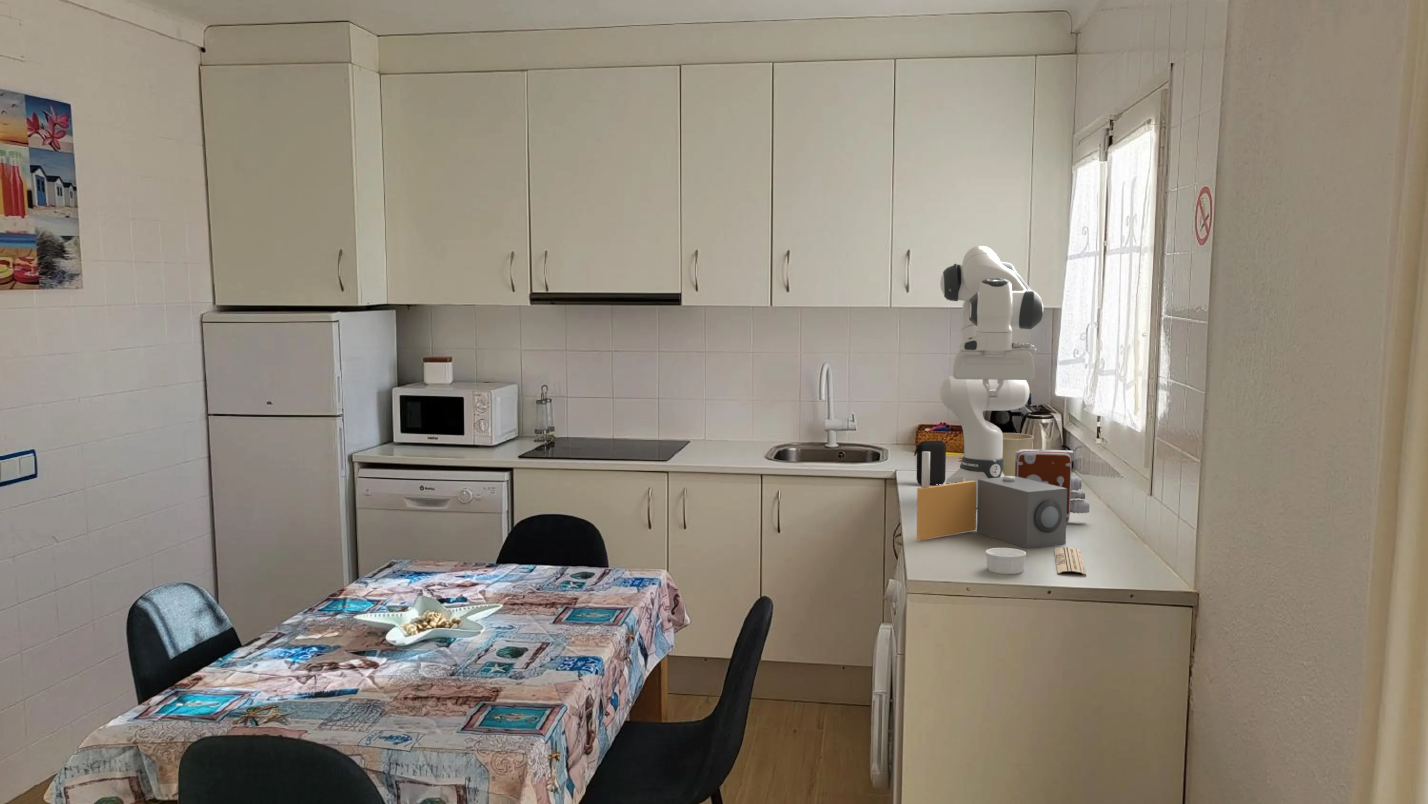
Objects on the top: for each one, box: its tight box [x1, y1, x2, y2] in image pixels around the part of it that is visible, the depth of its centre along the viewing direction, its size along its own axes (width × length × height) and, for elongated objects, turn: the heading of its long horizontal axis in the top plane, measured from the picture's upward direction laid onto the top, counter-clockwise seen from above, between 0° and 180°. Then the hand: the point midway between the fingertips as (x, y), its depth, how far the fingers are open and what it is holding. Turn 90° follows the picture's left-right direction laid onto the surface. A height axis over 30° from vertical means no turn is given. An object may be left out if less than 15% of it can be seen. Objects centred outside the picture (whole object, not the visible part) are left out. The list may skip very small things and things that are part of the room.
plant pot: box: [1002, 432, 1034, 476], centre depth 352 cm, size 15×15×16 cm
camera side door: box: [916, 451, 977, 541], centre depth 275 cm, size 21×2×22 cm, turn 124°
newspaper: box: [1054, 546, 1087, 577], centre depth 249 cm, size 24×7×2 cm, turn 164°
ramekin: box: [985, 547, 1027, 575], centre depth 242 cm, size 9×9×4 cm
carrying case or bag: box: [913, 440, 947, 486], centre depth 350 cm, size 11×3×15 cm, turn 99°
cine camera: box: [1015, 448, 1090, 525], centre depth 292 cm, size 9×19×20 cm, turn 78°
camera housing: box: [976, 476, 1067, 549], centre depth 273 cm, size 21×12×15 cm, turn 23°
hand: (992, 397), depth 273 cm, fingers closed
